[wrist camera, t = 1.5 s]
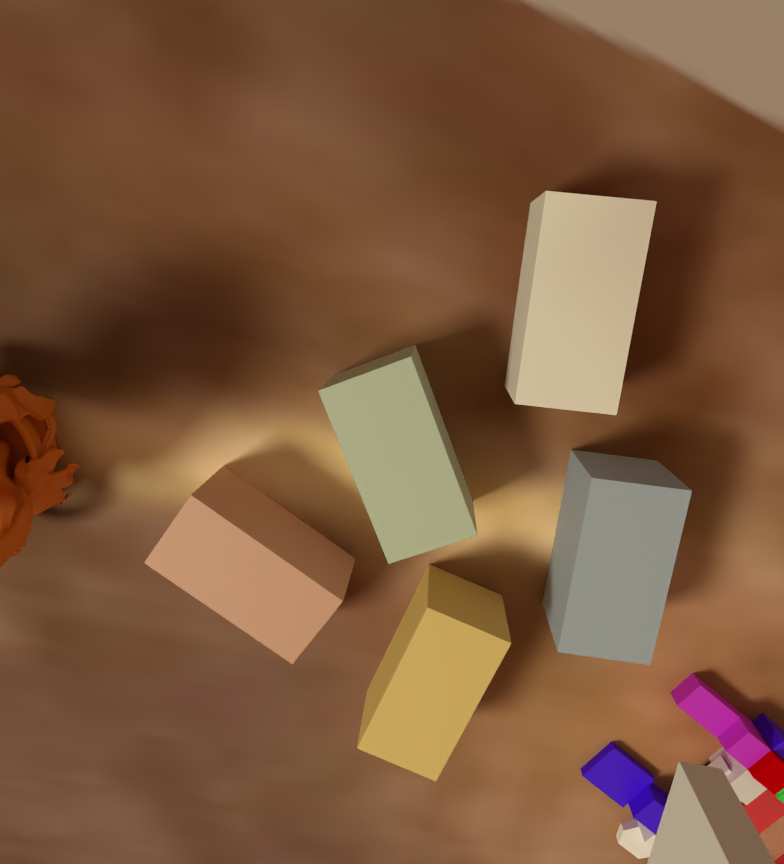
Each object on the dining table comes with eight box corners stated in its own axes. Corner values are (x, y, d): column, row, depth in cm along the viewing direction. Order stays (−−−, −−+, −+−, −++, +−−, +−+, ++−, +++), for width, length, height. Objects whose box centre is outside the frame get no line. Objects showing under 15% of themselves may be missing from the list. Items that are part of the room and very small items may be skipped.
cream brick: (530, 203, 31) (545, 190, 27) (623, 212, 31) (656, 201, 26) (504, 384, 34) (514, 403, 29) (591, 394, 33) (616, 415, 29)
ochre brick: (429, 562, 36) (427, 607, 32) (501, 594, 36) (511, 643, 32) (367, 688, 39) (357, 748, 34) (436, 717, 39) (435, 781, 34)
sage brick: (335, 374, 34) (318, 390, 29) (415, 344, 33) (410, 356, 29) (395, 524, 36) (388, 563, 31) (472, 499, 35) (477, 535, 30)
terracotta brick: (183, 524, 37) (144, 562, 32) (224, 464, 36) (191, 494, 31) (311, 613, 38) (292, 664, 33) (355, 557, 37) (342, 601, 32)
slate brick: (570, 448, 34) (591, 478, 29) (656, 459, 34) (692, 490, 29) (541, 601, 36) (557, 651, 32) (622, 612, 36) (650, 664, 31)
